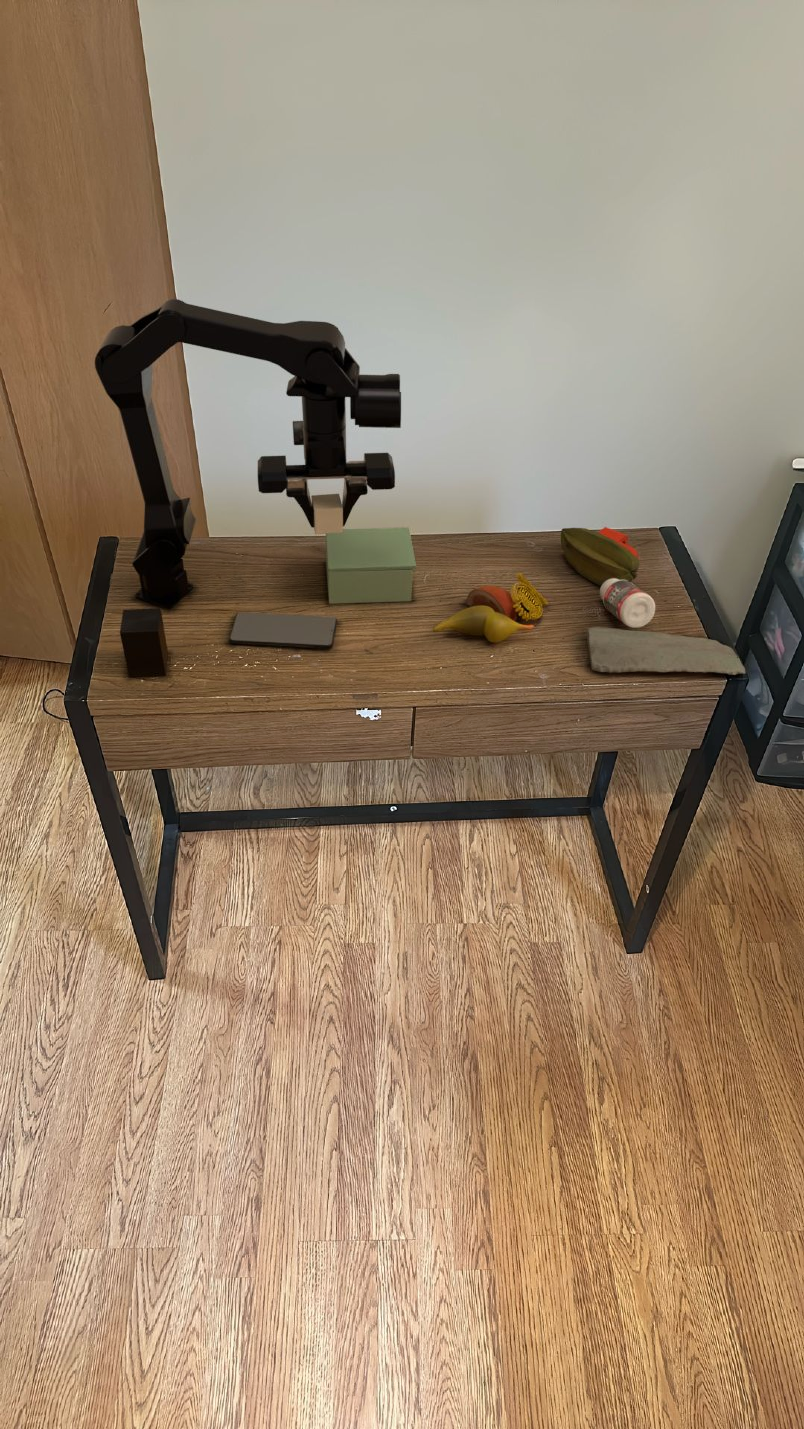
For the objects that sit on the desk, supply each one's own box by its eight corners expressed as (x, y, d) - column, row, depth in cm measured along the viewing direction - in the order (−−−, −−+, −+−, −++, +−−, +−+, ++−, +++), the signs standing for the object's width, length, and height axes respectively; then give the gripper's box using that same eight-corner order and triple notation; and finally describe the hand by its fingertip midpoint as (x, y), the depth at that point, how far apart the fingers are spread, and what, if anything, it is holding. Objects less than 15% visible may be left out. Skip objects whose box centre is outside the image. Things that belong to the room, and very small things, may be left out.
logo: (548, 602, 149) (537, 628, 143) (544, 605, 149) (533, 631, 143) (519, 571, 147) (507, 596, 141) (516, 574, 148) (504, 599, 142)
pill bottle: (616, 607, 140) (589, 586, 148) (630, 635, 142) (603, 613, 151) (648, 586, 140) (619, 567, 148) (662, 615, 142) (632, 594, 151)
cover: (408, 530, 152) (408, 527, 152) (416, 569, 145) (416, 565, 144) (325, 532, 151) (325, 529, 151) (328, 572, 143) (328, 568, 143)
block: (315, 534, 138) (314, 510, 135) (312, 519, 141) (311, 495, 138) (343, 532, 138) (342, 508, 136) (339, 517, 141) (339, 493, 138)
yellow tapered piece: (523, 622, 146) (535, 645, 141) (426, 628, 144) (435, 651, 139) (526, 597, 144) (539, 619, 139) (428, 602, 141) (437, 625, 136)
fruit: (597, 594, 160) (572, 603, 156) (575, 525, 159) (549, 532, 155) (652, 577, 151) (626, 585, 147) (629, 503, 150) (602, 510, 146)
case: (404, 562, 156) (405, 531, 152) (411, 601, 149) (412, 570, 145) (326, 564, 155) (325, 533, 151) (329, 603, 147) (328, 572, 143)
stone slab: (581, 637, 145) (591, 673, 137) (584, 621, 143) (594, 657, 135) (727, 646, 146) (746, 683, 137) (732, 630, 144) (751, 666, 136)
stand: (129, 677, 133) (119, 632, 128) (132, 654, 137) (123, 609, 131) (166, 676, 134) (158, 630, 128) (168, 653, 137) (160, 608, 132)
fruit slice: (489, 583, 151) (472, 610, 151) (473, 568, 145) (455, 596, 145) (531, 607, 147) (513, 635, 147) (517, 593, 141) (498, 622, 141)
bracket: (573, 527, 158) (588, 515, 161) (570, 547, 161) (584, 535, 164) (637, 553, 154) (651, 539, 157) (632, 573, 156) (646, 559, 159)
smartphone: (236, 611, 144) (337, 616, 143) (237, 616, 144) (337, 621, 144) (228, 640, 139) (332, 645, 138) (228, 645, 139) (332, 650, 139)
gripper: (388, 396, 136) (387, 494, 146) (254, 399, 134) (262, 498, 145) (396, 433, 127) (394, 534, 138) (253, 437, 126) (262, 539, 136)
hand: (327, 525), depth 140 cm, fingers closed on block, 4 cm apart
